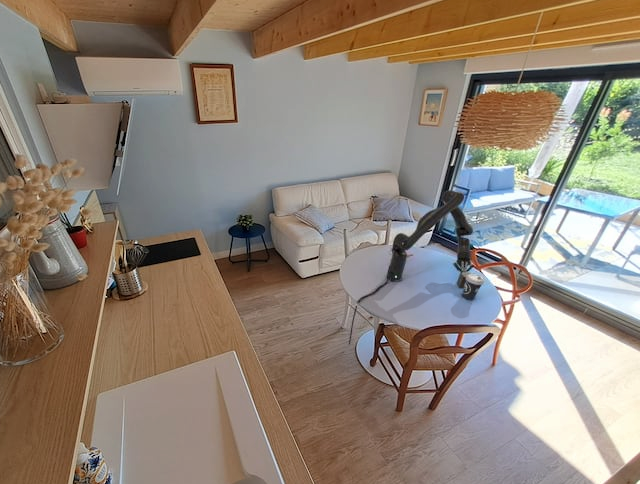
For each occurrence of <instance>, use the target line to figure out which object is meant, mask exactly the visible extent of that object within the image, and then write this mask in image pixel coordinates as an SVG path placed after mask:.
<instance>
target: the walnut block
mask: <svg viewBox="0 0 640 484" xmlns="http://www.w3.org/2000/svg"><path fill="white" fill-rule="evenodd" d="M469 274H472V273H471V272H469V271H468V272H460V273H459V274H458V275H459V276H458V278H457V281H456V284H457V286H458V288H460V289H464V286H465V282H466V277H467V276H468V275H469Z"/></svg>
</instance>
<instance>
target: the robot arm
mask: <svg viewBox="0 0 640 484" xmlns="http://www.w3.org/2000/svg"><path fill="white" fill-rule="evenodd" d="M441 200H442V202H443V205H441V206H439V207H436V208H434V209H432V210H429V211H427V212H426V213H424V214H423V216H421V217H420V218H419V220H418V221H417V224H416V227H415V230H414V231H413V232H412V233H411V234H410V235H409V236H408V235H407V234H405V233H403V232H399V233H397V234H395V237H394V238H393V242H392V247H391V248H392V249H391V257H390V258H391V259H390V263H389V265H388V269H387V272H386V273H387V274H386V278H387V279H386V281H385V282H384V283H383V284H382V285H380V286H378V287H377V288H376V289H375V290H374V291H373V292H370V293H368V294H366V295H363V296H362V297H360V298H358V300H357V303H358V304H359V303H360V301H361V300H363V299H364V298H366V297H369V296H372V295H374V294H375V293H377V292H378V290H379V289H381V288H382V287H384V286H386V285H387V283H388V281H389V280H390V281H391V282H400V281H402V279H403V275H404V270H405V266H406V262H407V259H408V258H407V255H408V253H407V251H408V250H411V248H412V247H414V245H416V243H417V242H418V241H419V240H420V239H421V238H422V237H423V236H425V234H426V233H427V232H428V231H430V230H431V229H432V228H434V227H435V226H436V225H437V224H438V223H439V222H440V221H442V219H444V218H445V217H446V216H448V214H450V215H451V217H452V219H453V222H454V224H455V226H456V227H455V230H454V231H455V235H456V239H457V251H456V260H455V261H456V262H454V263H452V266H454V268H455V269H456V270H457V271H458V272H460V273H461V272H468V273H469V272H470V271H471V270H472V269H474V267H475V265H474V264H472V262H471V240H470V238H468V237H466V236H471V235H473V234H474V228H473V226H472V225H471V224H470V223H469V222H468V220H467V217H466V215H465V213H464V212H463V210H462V209H461V208H460V207H459V206H461V205H462V204H463V202H464V200H465V194H464V193H463V192H460V191H456V190H452V189H448V190H446V191H445V192H443V195H442V196H441ZM357 309H358V305H355V308H354V311H353V315H352V320H351V327H350V333H349V340H348V345H351V340H352V333H353V327H354V322H355V316H356V312H357Z"/></svg>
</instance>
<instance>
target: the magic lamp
mask: <svg viewBox="0 0 640 484" xmlns="http://www.w3.org/2000/svg"><path fill="white" fill-rule="evenodd" d="M391 250H392V247H390V250H389V251H388V254H389V255H391V256H392V253H390V252H391ZM412 256H413V257H414V254H407V259H408V258H410V257H412Z"/></svg>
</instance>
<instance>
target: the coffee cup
mask: <svg viewBox="0 0 640 484" xmlns="http://www.w3.org/2000/svg"><path fill="white" fill-rule="evenodd" d="M484 283H485V281H484V278H483V277H482V276H480V275H479V274H475V273H471V274H469V275H468V276H467V277H466V282H465V286H464V288H463V290H462V294H461V297H462V298H463V299H465V300H468V301H473V300H474V299H475V298H476V296H477V295H478V292H479V291H480V289H481V287H482V285H484Z"/></svg>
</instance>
